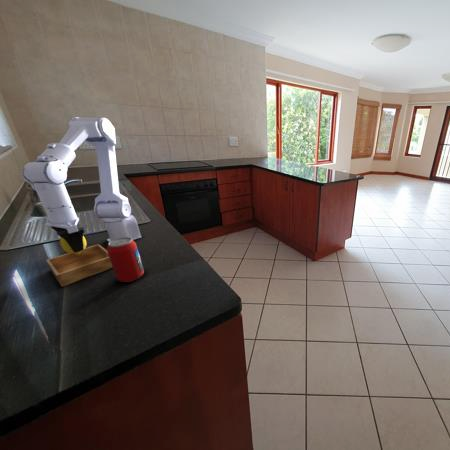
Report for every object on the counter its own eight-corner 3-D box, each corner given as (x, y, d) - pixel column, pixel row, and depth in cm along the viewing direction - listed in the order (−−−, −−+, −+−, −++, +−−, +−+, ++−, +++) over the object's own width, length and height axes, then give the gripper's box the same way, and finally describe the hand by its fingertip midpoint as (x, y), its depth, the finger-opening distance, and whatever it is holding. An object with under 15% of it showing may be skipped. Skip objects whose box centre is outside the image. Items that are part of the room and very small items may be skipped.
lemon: (76, 259, 70) (65, 235, 67) (61, 257, 71) (50, 233, 68) (94, 250, 75) (85, 227, 71) (80, 248, 76) (71, 225, 72)
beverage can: (150, 273, 73) (140, 238, 68) (129, 286, 67) (116, 248, 62) (133, 268, 75) (123, 234, 70) (112, 281, 69) (98, 244, 64)
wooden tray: (102, 253, 83) (98, 243, 82) (116, 266, 76) (113, 255, 74) (50, 270, 73) (45, 259, 72) (61, 286, 66) (56, 275, 65)
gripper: (32, 204, 67) (52, 245, 73) (44, 215, 60) (64, 261, 65) (65, 198, 73) (81, 237, 78) (79, 207, 65) (96, 251, 70)
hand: (75, 247), depth 72 cm, fingers closed on lemon, 5 cm apart
